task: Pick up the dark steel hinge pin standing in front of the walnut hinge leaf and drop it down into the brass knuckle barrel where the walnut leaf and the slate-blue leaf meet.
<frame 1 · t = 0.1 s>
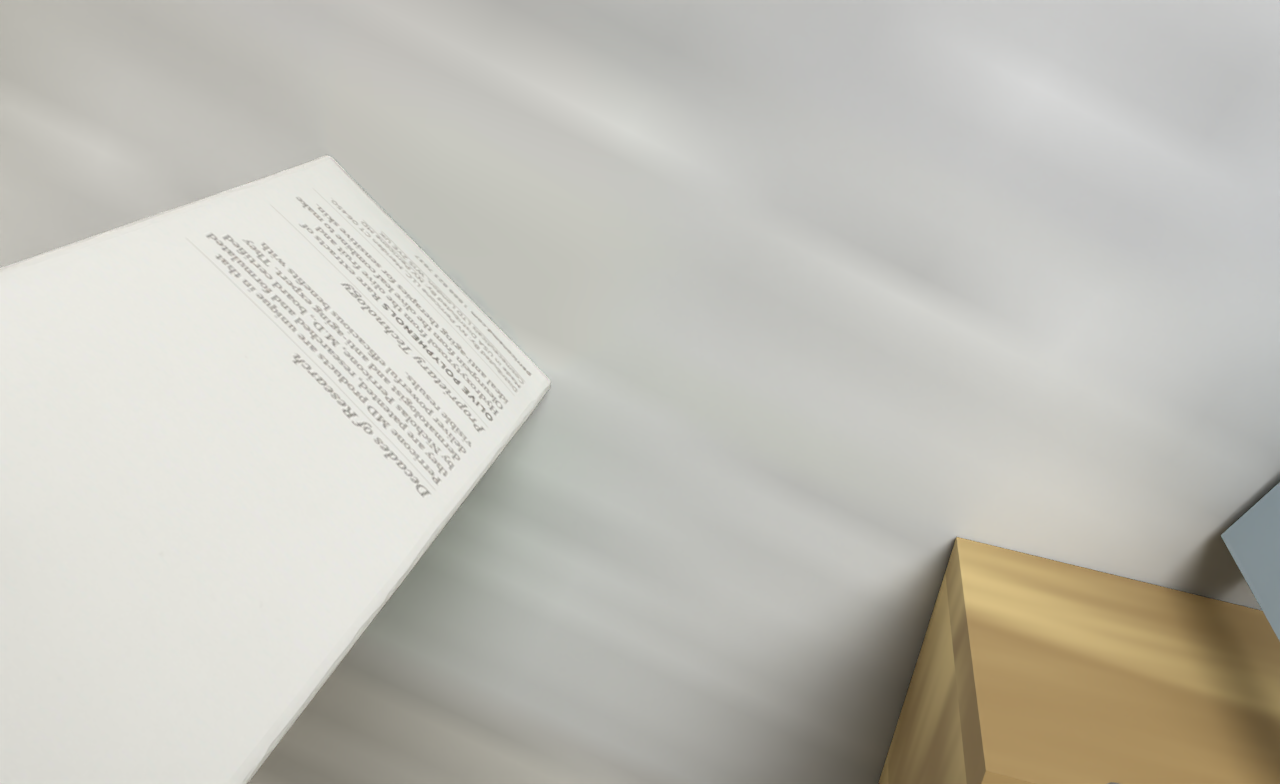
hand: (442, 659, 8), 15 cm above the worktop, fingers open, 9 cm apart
skincare box: (322, 378, 25), on the worktop
knuckle leaf: (1065, 703, 24), on the worktop
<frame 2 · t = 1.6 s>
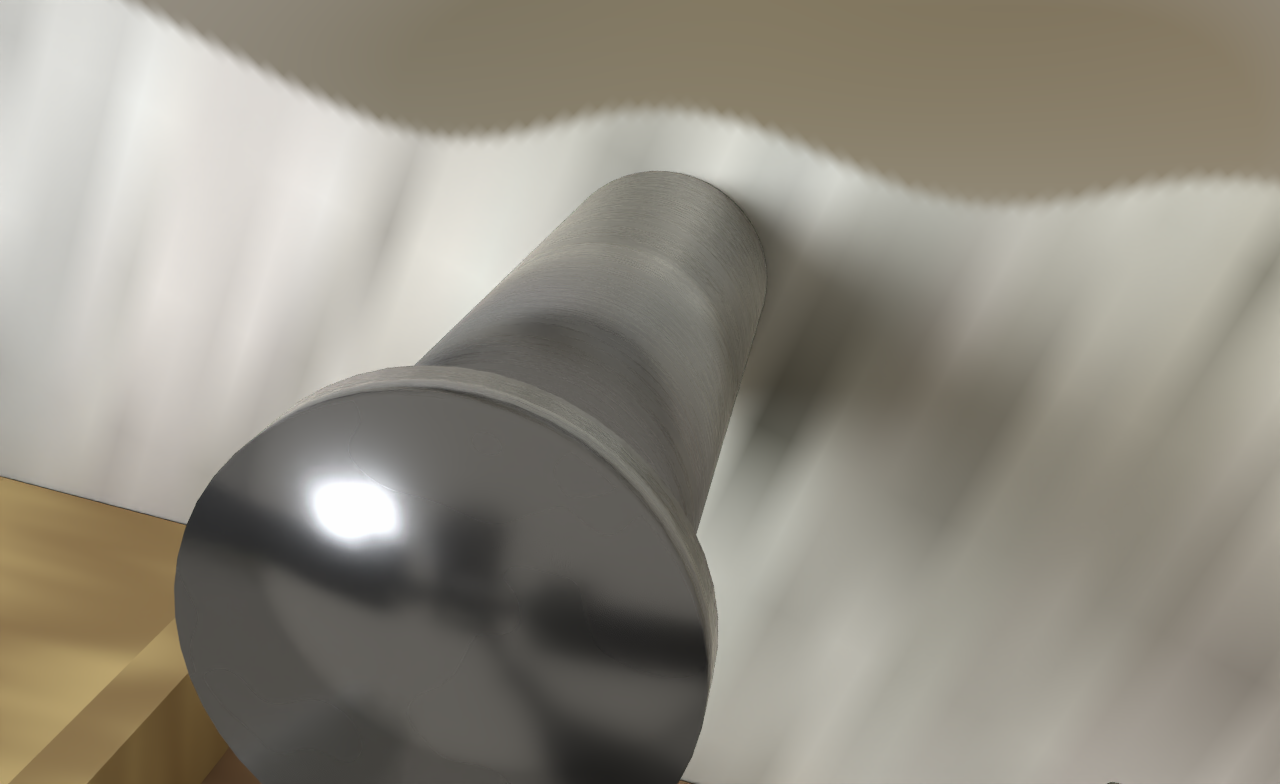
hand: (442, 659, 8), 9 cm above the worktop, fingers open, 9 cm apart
knuckle leaf: (124, 657, 21), on the worktop
hinge pin: (660, 277, 17), on the worktop
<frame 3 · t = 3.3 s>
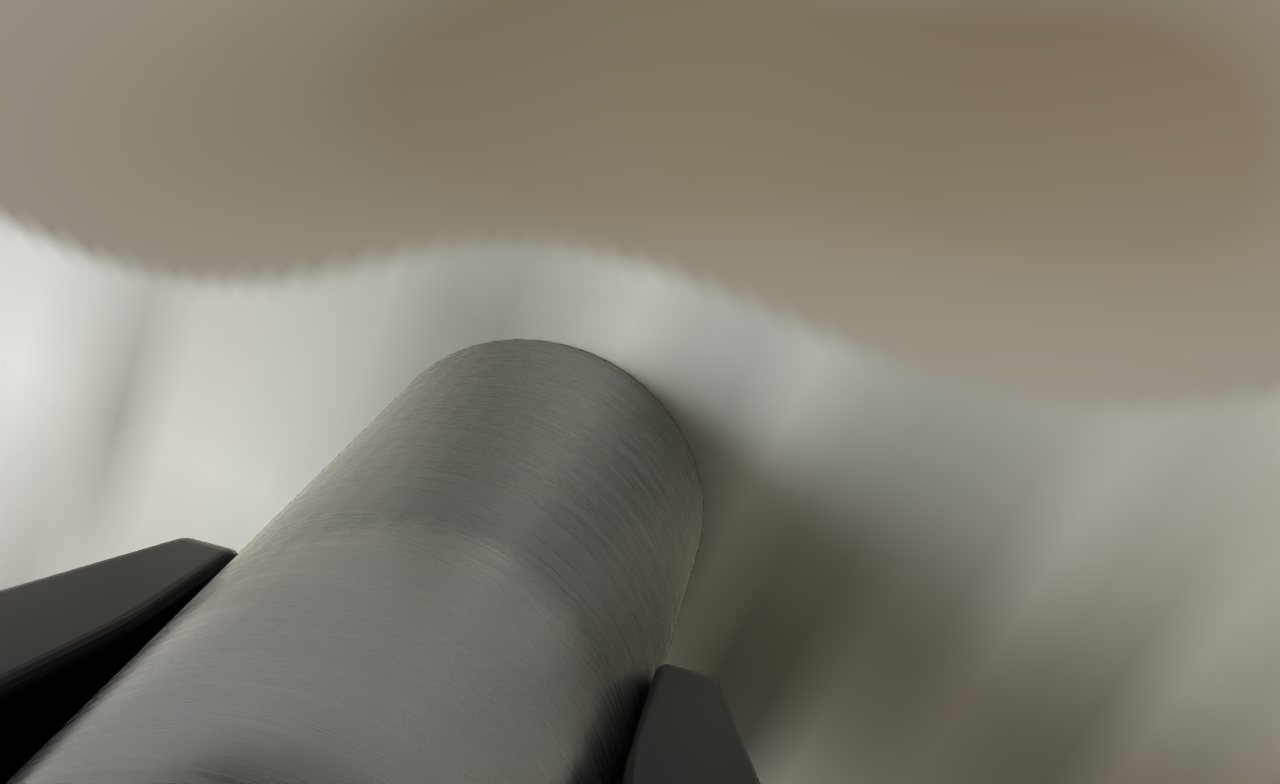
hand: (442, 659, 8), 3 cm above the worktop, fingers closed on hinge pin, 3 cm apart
hinge pin: (535, 500, 11), on the worktop, touching gripper
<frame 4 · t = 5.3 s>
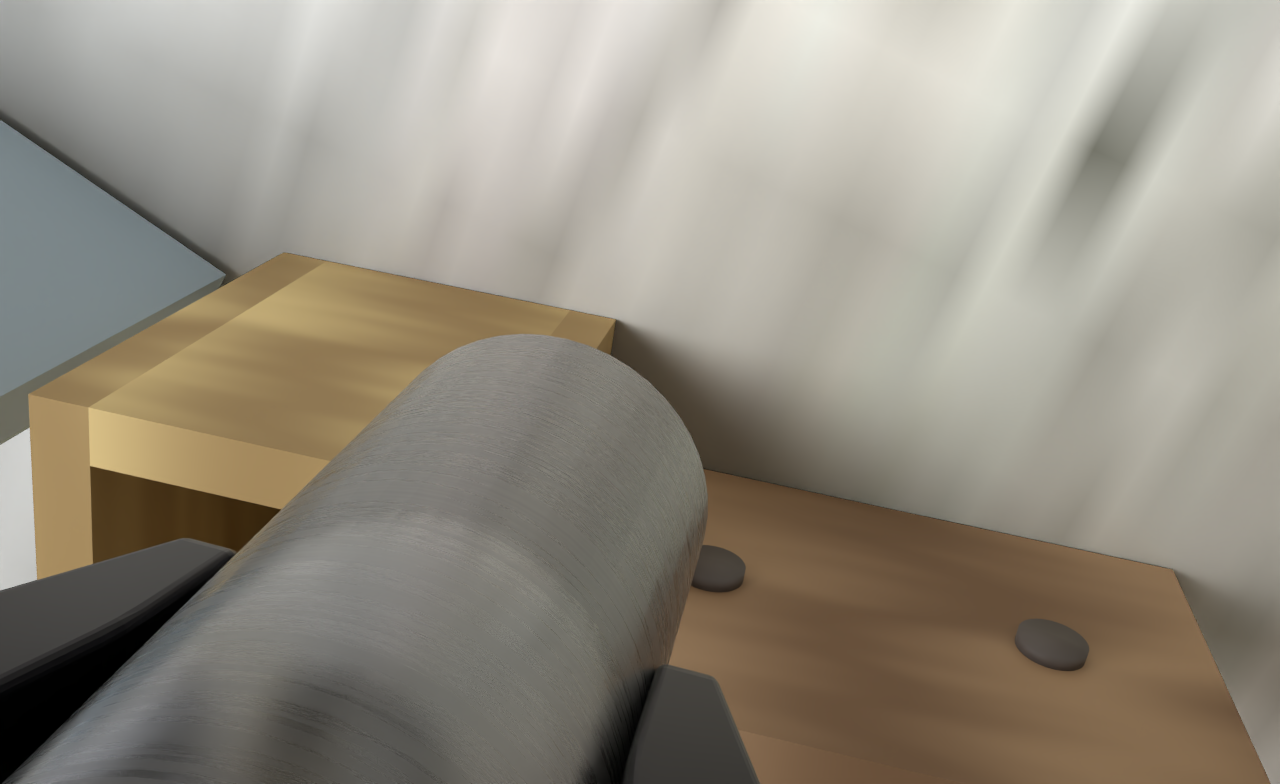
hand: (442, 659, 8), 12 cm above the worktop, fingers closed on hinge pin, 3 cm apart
knuckle leaf: (432, 441, 22), on the worktop
hinge pin: (540, 495, 11), point 10 cm above the worktop, touching gripper
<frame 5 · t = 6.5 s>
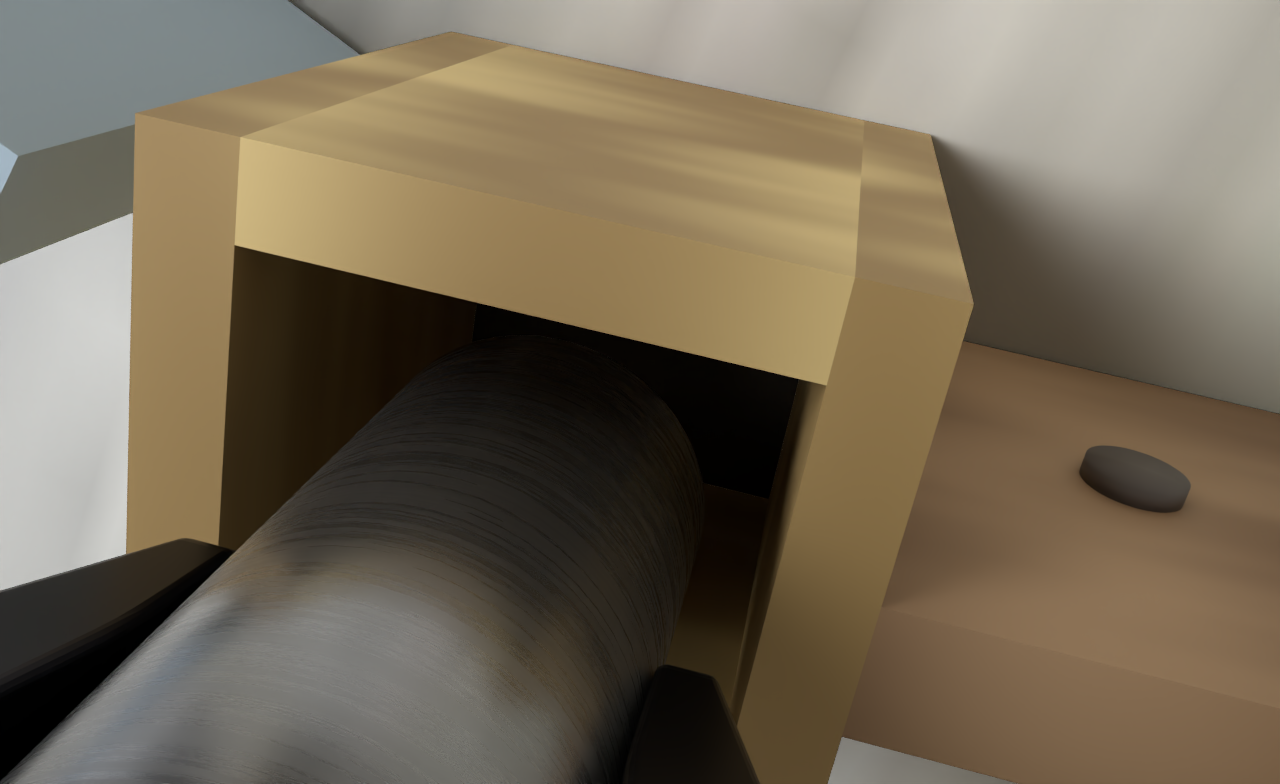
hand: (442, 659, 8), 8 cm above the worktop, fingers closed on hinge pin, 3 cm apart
knuckle leaf: (641, 311, 16), on the worktop
hinge pin: (536, 495, 11), point 6 cm above the worktop, touching gripper
when the fingers open (8 cm above the worktop, at t = 7.4 s): hinge pin drops 5 cm, resting in knuckle leaf.
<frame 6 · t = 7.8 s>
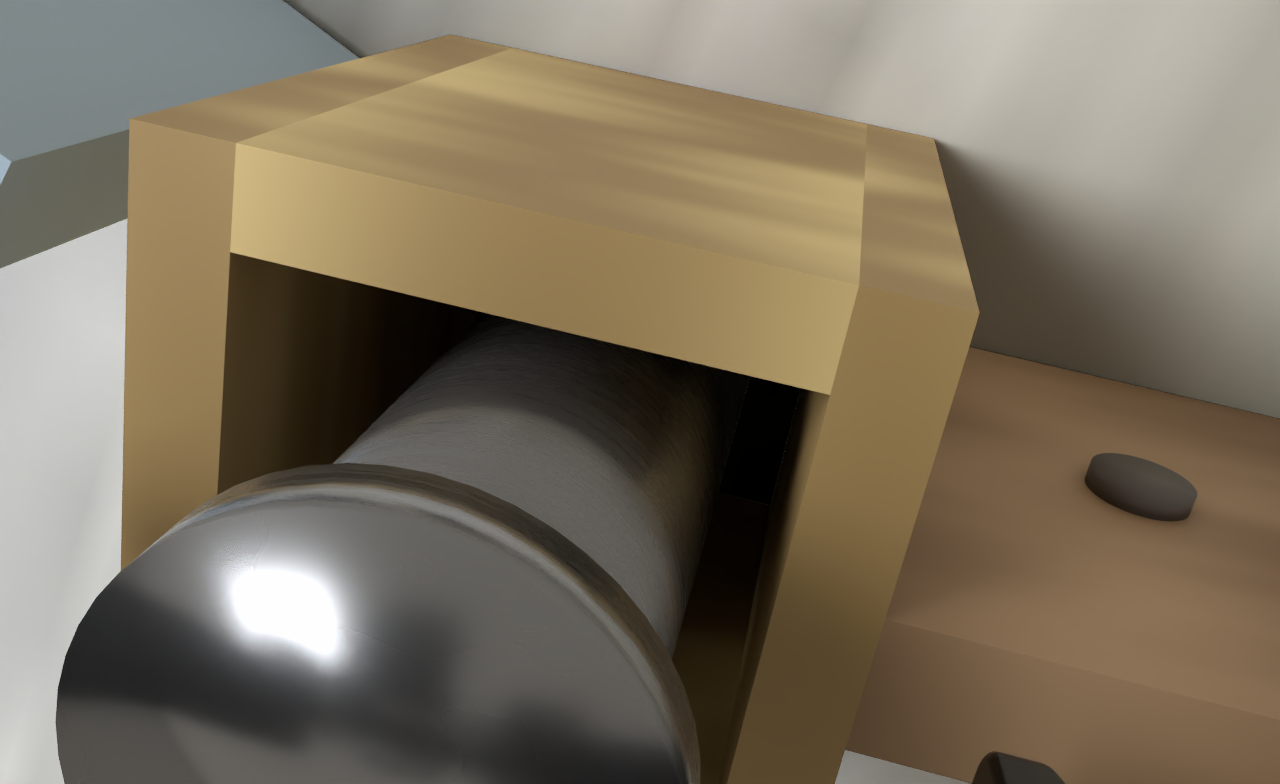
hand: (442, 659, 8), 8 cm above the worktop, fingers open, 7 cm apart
knuckle leaf: (642, 316, 16), on the worktop
hinge pin: (647, 313, 16), resting in knuckle leaf
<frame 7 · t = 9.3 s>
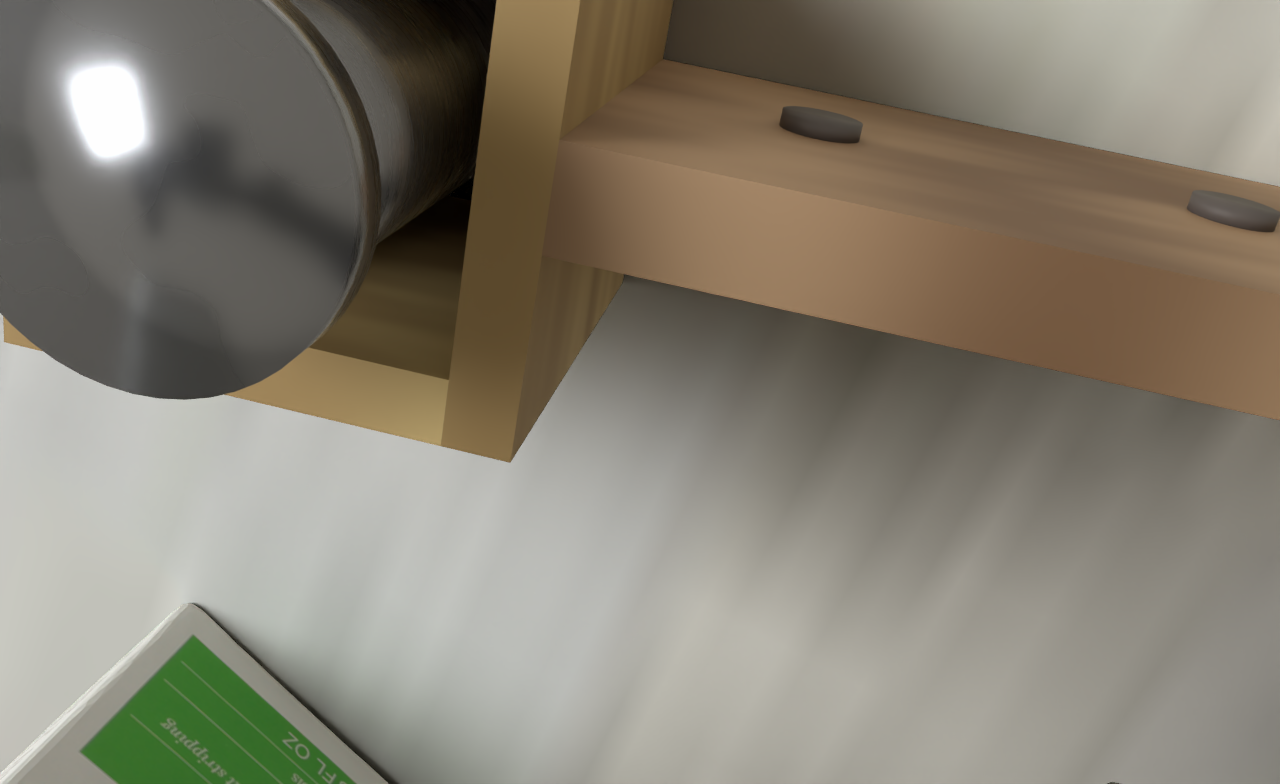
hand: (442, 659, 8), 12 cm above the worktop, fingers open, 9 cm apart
knuckle leaf: (467, 59, 19), on the worktop
hinge pin: (472, 56, 19), resting in knuckle leaf
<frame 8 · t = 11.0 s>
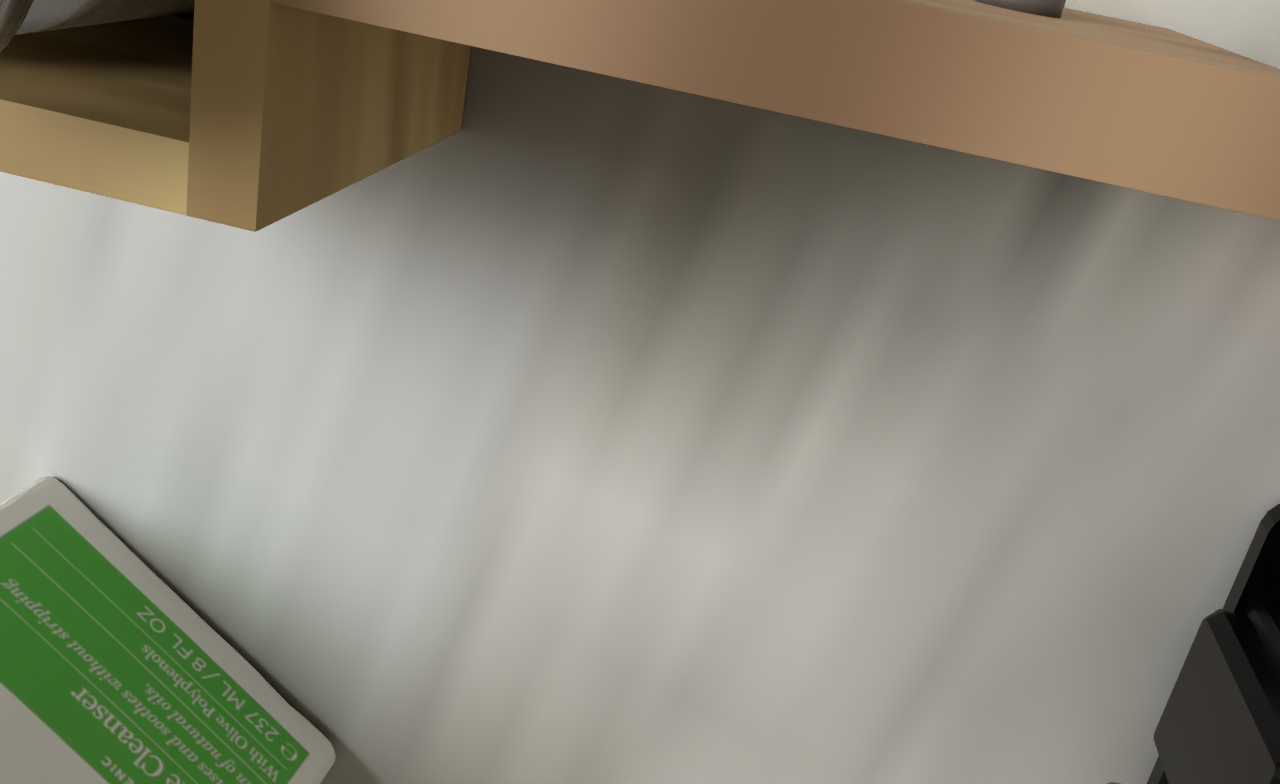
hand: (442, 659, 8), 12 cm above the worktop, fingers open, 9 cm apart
skincare box: (112, 684, 25), on the worktop
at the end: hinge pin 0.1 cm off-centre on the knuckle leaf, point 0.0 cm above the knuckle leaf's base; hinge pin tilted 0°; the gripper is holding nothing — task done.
